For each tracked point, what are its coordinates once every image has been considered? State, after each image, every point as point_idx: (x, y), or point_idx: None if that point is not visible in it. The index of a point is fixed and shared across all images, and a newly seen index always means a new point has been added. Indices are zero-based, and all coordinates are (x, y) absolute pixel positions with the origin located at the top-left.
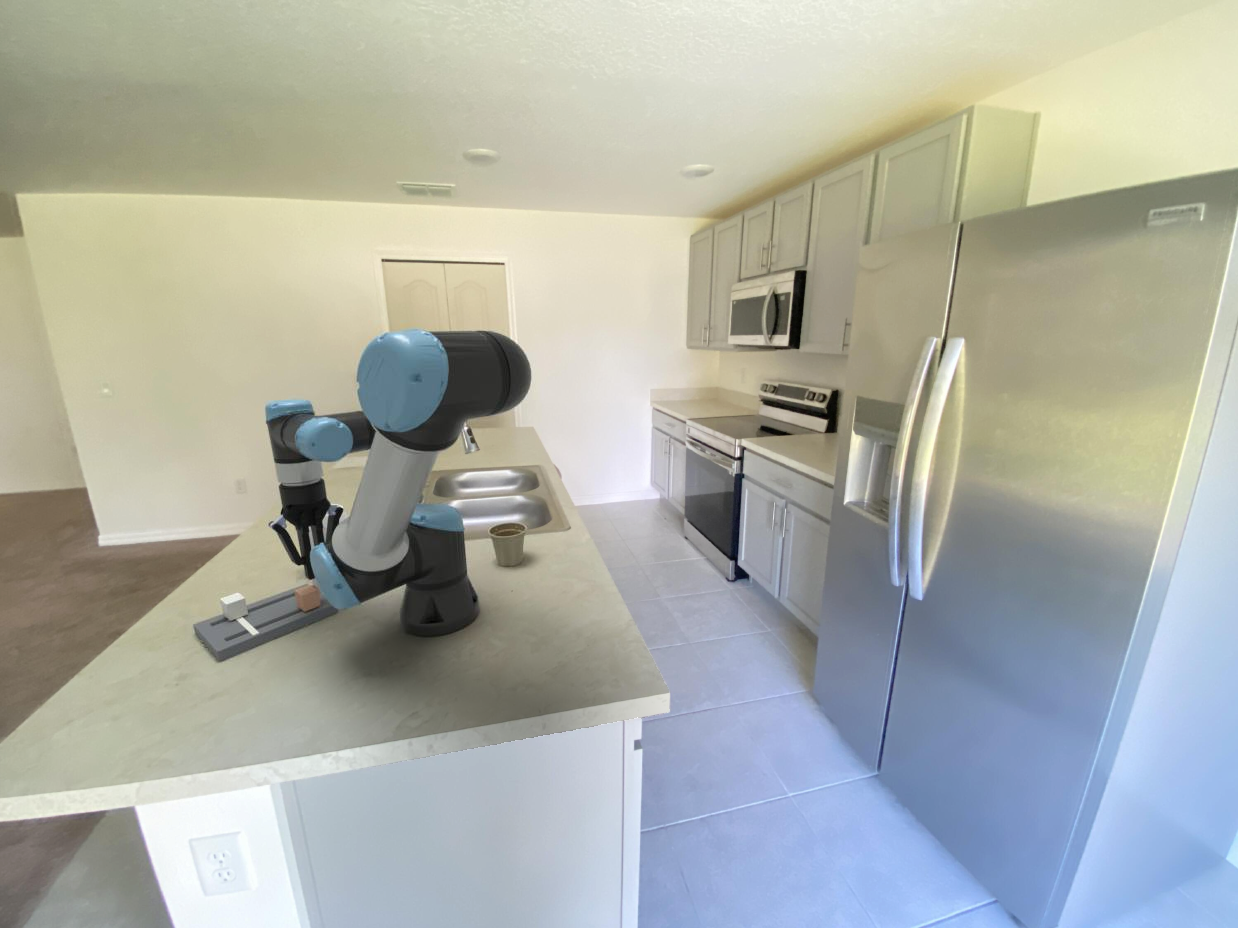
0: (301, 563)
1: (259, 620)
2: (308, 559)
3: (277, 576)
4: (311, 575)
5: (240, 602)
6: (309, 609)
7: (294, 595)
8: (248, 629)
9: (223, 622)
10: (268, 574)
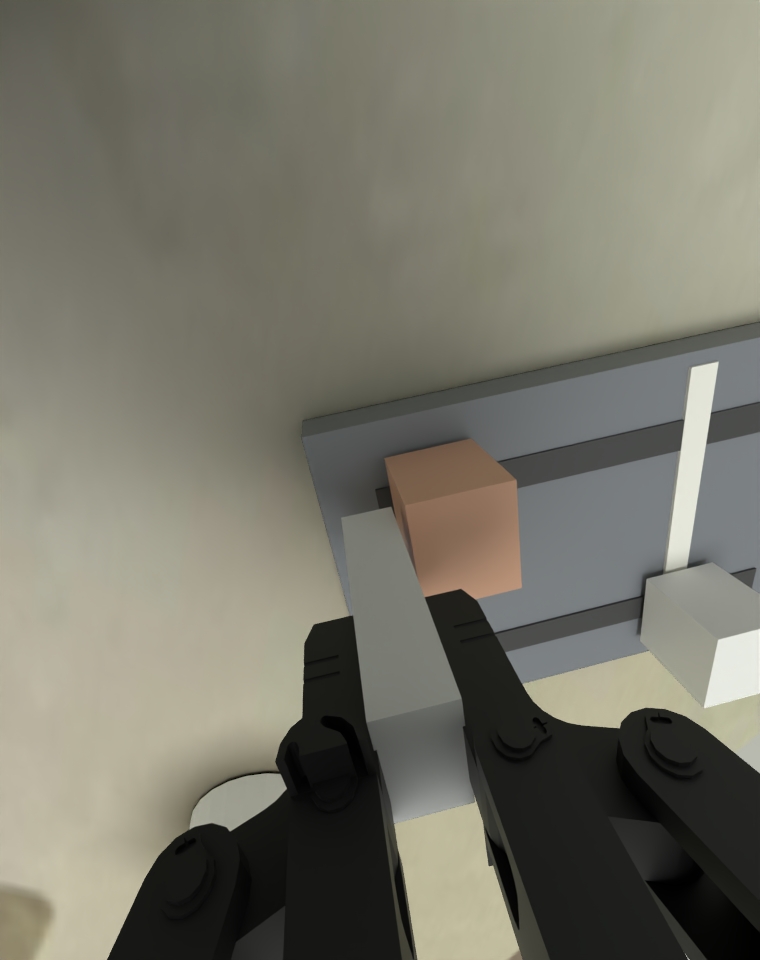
0: (637, 735)
1: (634, 500)
2: (558, 788)
3: (432, 826)
4: (455, 616)
5: (724, 622)
6: (446, 445)
7: None
8: (702, 439)
9: None
10: (450, 846)
